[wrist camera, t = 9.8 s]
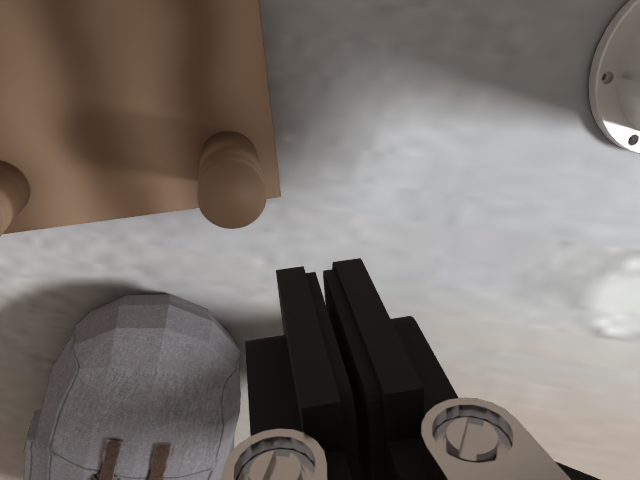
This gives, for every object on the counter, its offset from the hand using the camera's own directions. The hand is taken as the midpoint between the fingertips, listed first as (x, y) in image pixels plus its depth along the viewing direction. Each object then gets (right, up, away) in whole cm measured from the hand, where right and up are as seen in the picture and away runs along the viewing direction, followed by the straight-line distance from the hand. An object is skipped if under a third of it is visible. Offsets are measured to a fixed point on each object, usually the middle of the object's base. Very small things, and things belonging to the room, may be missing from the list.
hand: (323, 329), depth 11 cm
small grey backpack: (-14, -10, +35) cm, 39 cm away
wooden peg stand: (-14, +13, +23) cm, 30 cm away
